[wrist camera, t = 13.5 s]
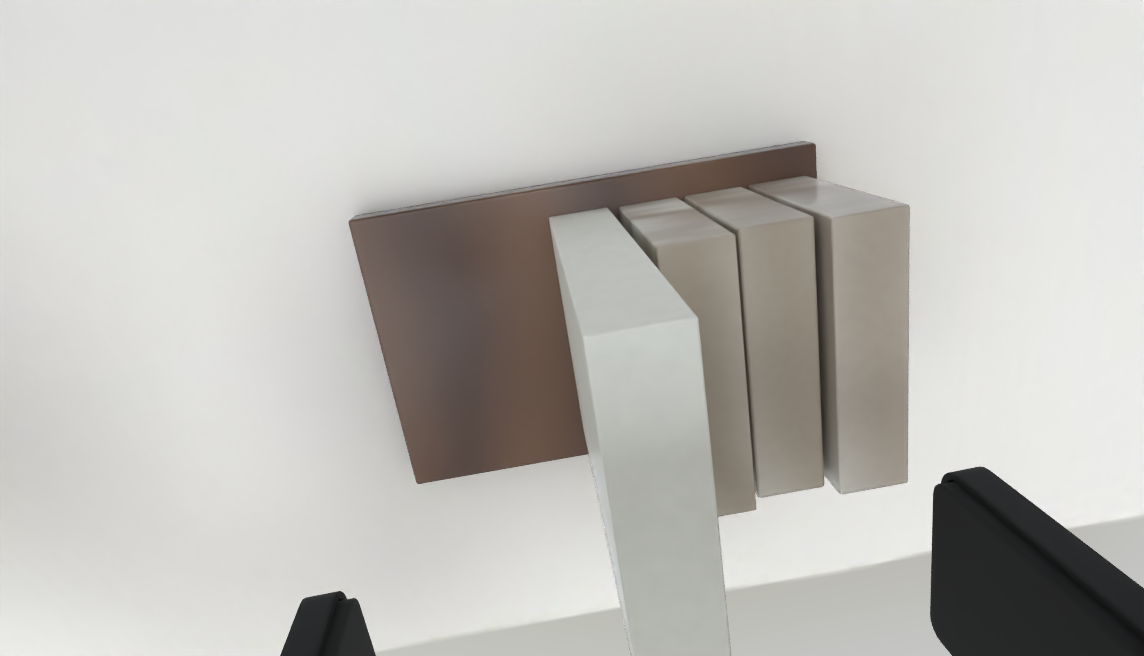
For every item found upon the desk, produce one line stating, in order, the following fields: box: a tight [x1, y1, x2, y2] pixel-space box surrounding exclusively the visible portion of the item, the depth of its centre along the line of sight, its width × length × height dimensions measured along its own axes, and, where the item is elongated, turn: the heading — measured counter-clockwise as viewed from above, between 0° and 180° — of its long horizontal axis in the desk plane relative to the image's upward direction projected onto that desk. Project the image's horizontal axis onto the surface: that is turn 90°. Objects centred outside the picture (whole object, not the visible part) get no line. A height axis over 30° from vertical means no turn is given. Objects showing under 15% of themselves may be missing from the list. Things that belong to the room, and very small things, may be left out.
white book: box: [549, 208, 731, 656], centre depth 19 cm, size 2×8×12 cm, turn 9°
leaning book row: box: [349, 141, 910, 517], centre depth 22 cm, size 16×10×8 cm, turn 99°
